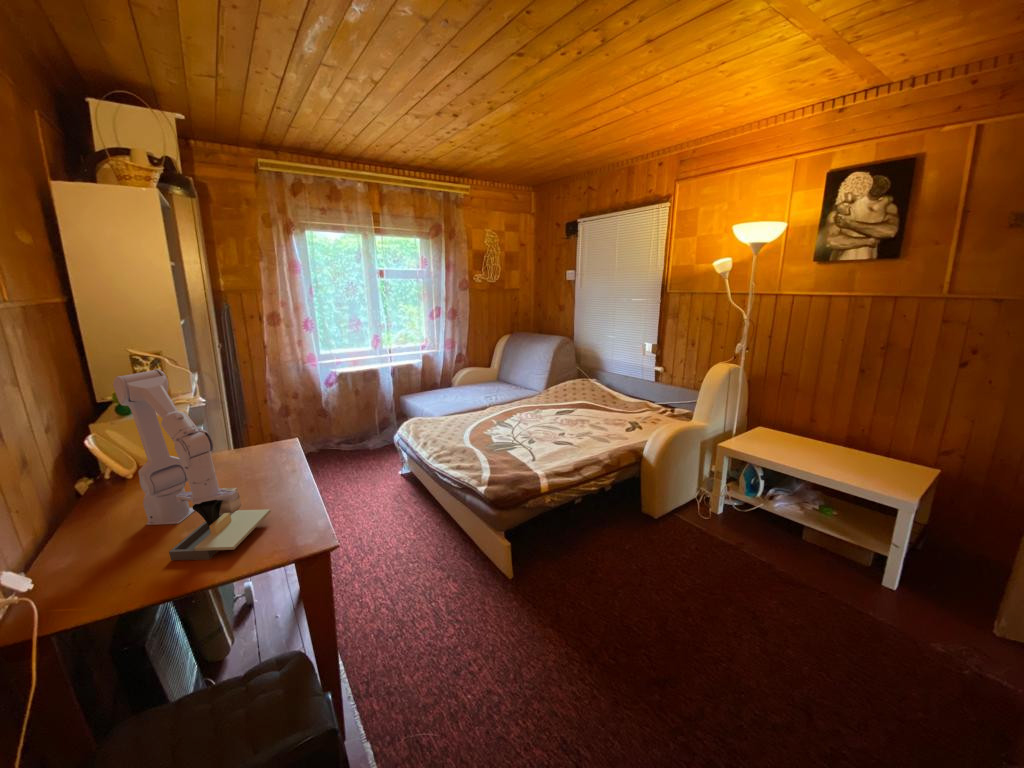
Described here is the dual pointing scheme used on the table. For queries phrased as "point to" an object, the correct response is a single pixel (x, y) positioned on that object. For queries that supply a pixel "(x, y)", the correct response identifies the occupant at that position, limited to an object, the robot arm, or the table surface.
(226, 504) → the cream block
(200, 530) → the grey storage tray
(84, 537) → the table surface
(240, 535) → the lid
